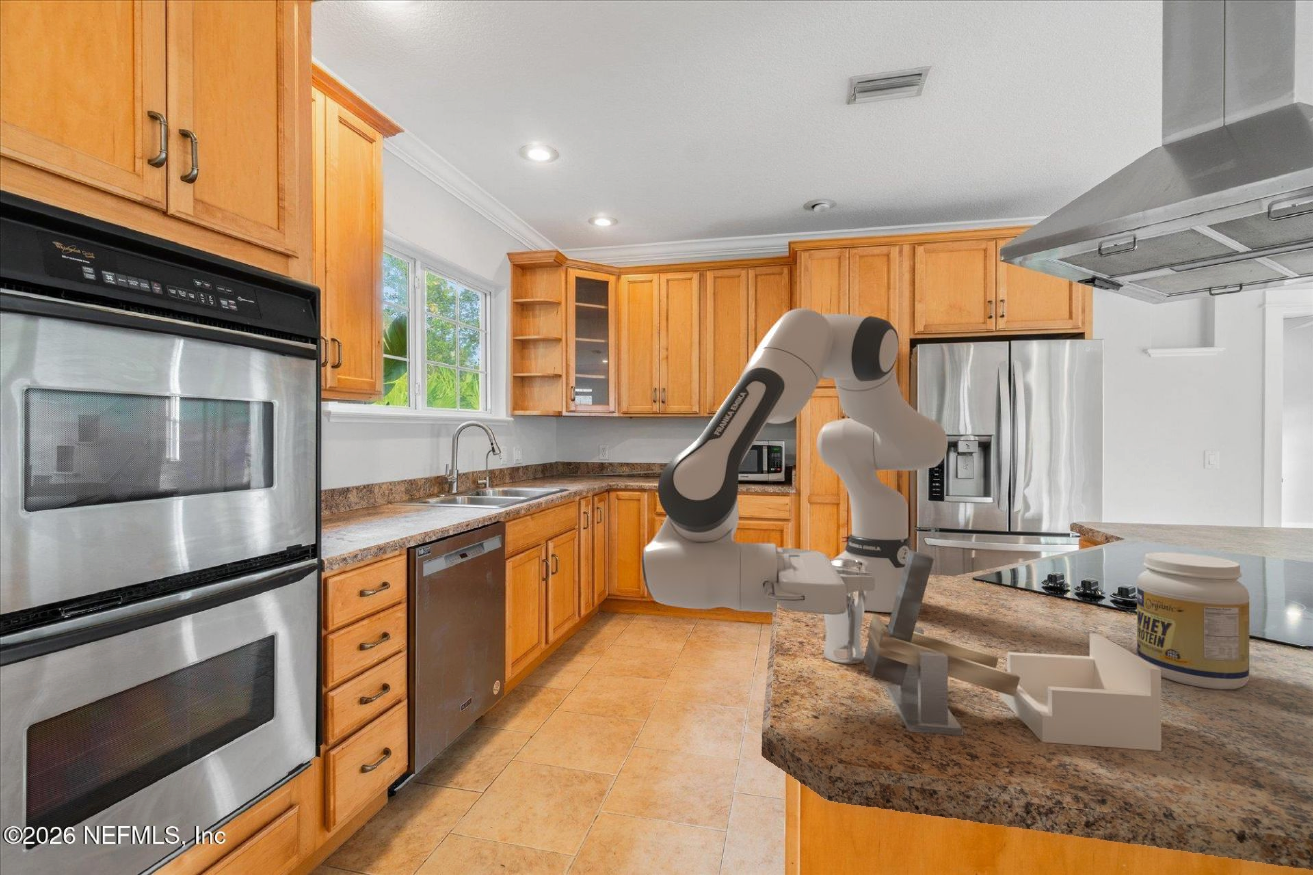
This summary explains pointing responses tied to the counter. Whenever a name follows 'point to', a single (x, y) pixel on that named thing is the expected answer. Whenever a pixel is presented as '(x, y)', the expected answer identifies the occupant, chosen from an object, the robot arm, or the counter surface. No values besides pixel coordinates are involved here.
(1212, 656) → the supplement tub
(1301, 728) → the counter surface
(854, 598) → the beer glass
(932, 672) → the fulcrum
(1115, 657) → the cream open-top tray
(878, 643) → the lever
